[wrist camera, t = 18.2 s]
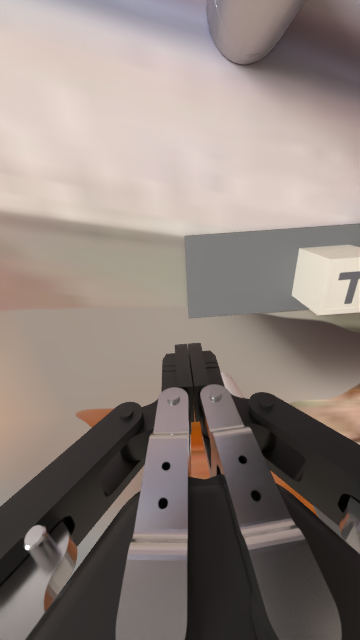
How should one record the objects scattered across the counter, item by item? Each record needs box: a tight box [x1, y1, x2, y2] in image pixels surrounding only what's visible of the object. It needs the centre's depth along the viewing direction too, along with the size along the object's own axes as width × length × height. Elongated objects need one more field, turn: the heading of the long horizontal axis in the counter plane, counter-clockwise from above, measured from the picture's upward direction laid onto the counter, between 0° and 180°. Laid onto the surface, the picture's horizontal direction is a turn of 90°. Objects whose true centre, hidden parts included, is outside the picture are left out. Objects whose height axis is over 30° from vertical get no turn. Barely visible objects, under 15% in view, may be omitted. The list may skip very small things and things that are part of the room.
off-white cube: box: [292, 245, 360, 315], centre depth 36 cm, size 8×8×8 cm
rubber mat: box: [185, 224, 360, 318], centre depth 40 cm, size 28×14×1 cm, turn 94°
